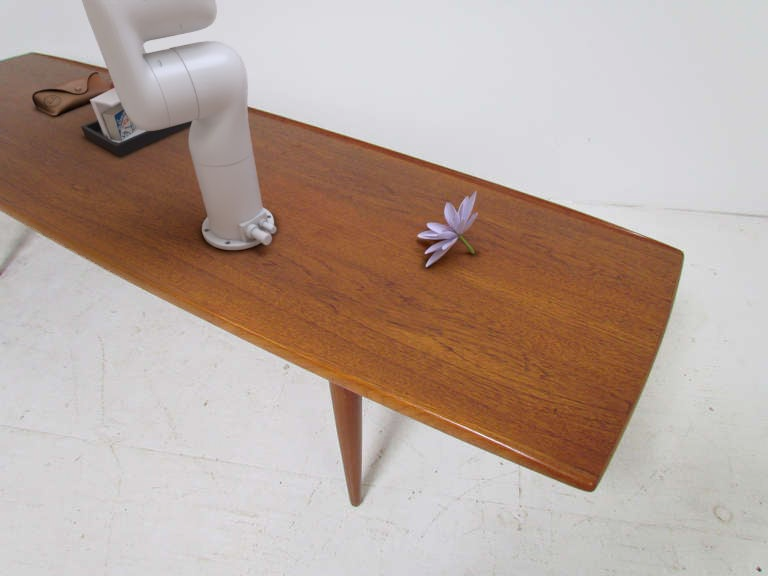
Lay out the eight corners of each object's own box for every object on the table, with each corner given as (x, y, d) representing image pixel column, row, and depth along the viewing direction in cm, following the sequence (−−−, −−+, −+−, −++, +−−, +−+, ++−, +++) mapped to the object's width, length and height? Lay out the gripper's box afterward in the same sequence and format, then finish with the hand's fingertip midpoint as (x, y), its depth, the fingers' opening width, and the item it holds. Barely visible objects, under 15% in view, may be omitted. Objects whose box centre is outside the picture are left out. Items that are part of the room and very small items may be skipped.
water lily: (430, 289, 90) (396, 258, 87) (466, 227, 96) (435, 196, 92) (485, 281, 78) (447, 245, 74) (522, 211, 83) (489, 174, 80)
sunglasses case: (55, 115, 117) (35, 88, 114) (47, 123, 122) (28, 96, 119) (121, 90, 128) (105, 64, 125) (111, 97, 133) (95, 73, 130)
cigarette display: (126, 147, 108) (110, 105, 101) (106, 141, 109) (89, 99, 103) (186, 109, 121) (175, 70, 115) (167, 105, 123) (156, 66, 116)
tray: (209, 117, 120) (206, 107, 118) (120, 157, 106) (116, 146, 104) (173, 101, 125) (171, 91, 124) (85, 137, 112) (80, 126, 110)
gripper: (71, 12, 101) (104, 99, 113) (121, 31, 94) (150, 121, 106) (106, 4, 105) (133, 88, 118) (156, 22, 98) (180, 109, 111)
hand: (141, 103), depth 112 cm, fingers closed on cigarette display, 6 cm apart
